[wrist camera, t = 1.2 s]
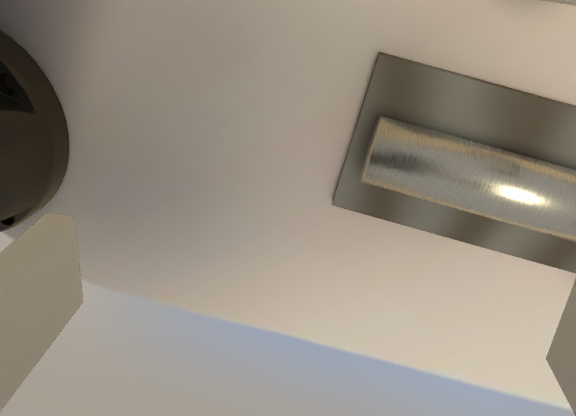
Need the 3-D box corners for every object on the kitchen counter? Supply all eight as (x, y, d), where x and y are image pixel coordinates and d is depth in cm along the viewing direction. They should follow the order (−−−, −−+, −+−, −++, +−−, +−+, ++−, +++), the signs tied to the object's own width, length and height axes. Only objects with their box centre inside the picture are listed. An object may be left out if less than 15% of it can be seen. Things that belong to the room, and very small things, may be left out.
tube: (359, 168, 34) (359, 194, 30) (380, 106, 32) (382, 125, 28) (664, 254, 33) (702, 290, 30) (702, 196, 32) (748, 227, 28)
